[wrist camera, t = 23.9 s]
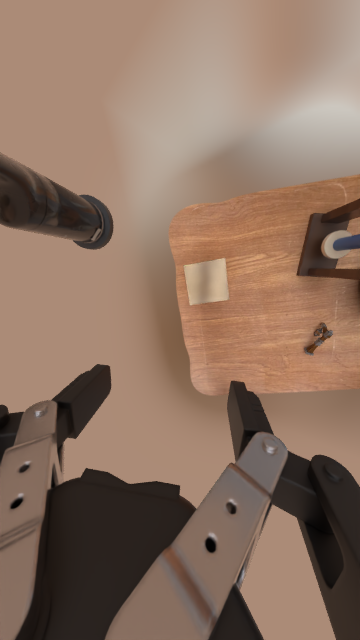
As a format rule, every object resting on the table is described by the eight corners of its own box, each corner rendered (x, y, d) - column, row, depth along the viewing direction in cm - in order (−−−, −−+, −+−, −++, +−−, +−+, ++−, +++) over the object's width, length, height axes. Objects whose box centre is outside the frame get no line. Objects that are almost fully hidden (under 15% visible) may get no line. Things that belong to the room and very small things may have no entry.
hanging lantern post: (329, 321, 43) (337, 334, 40) (307, 343, 48) (313, 356, 45) (322, 319, 43) (329, 332, 40) (301, 341, 48) (306, 354, 45)
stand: (296, 275, 42) (354, 281, 26) (310, 214, 38) (388, 177, 22) (329, 277, 41) (410, 284, 25) (346, 215, 38) (454, 177, 21)
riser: (193, 294, 46) (189, 305, 33) (189, 265, 44) (183, 265, 31) (221, 289, 45) (229, 299, 32) (218, 260, 43) (225, 257, 30)
